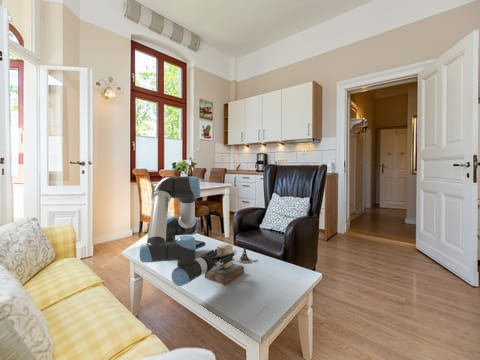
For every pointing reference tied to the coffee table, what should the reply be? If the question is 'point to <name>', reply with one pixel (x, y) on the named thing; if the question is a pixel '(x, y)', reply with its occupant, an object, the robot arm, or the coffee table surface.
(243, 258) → the eiffel tower figurine
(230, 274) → the walnut frame
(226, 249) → the oak block
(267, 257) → the coffee table surface
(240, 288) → the coffee table surface
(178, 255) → the robot arm
